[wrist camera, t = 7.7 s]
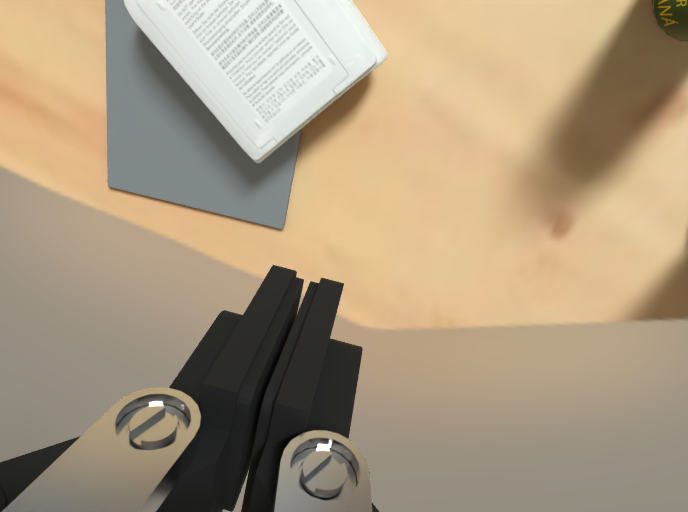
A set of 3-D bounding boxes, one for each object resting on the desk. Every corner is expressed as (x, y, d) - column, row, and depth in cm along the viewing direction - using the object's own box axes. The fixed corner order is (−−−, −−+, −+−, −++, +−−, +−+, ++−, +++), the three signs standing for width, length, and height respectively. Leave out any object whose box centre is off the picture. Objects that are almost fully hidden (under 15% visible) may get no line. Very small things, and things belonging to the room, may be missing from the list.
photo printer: (392, 52, 28) (250, -150, 24) (390, 56, 24) (222, -182, 20) (268, 156, 31) (130, -6, 28) (250, 174, 28) (87, -11, 24)
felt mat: (328, -20, 27) (327, -21, 26) (284, 227, 34) (282, 229, 34) (108, -76, 27) (104, -77, 26) (110, 184, 34) (107, 186, 34)
